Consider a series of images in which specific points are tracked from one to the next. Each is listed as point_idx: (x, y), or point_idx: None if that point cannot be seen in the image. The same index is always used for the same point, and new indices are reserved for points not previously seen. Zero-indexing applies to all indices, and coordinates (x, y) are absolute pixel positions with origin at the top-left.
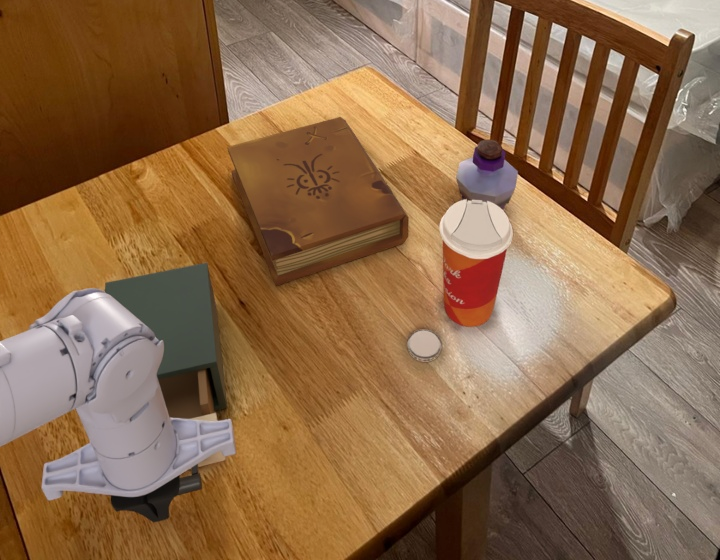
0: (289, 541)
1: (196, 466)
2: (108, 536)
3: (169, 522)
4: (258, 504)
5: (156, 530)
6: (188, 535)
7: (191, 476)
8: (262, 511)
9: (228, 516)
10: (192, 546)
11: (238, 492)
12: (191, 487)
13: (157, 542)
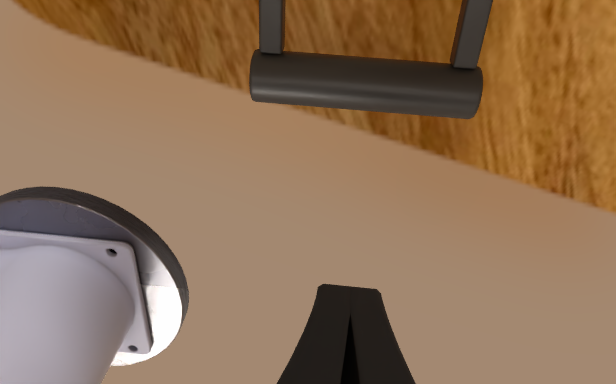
0: (600, 188)
1: (479, 46)
2: (185, 38)
3: None
4: (575, 87)
5: None
6: None
7: (452, 85)
8: (576, 107)
9: (489, 90)
10: (385, 128)
11: (539, 37)
12: (440, 114)
13: None
